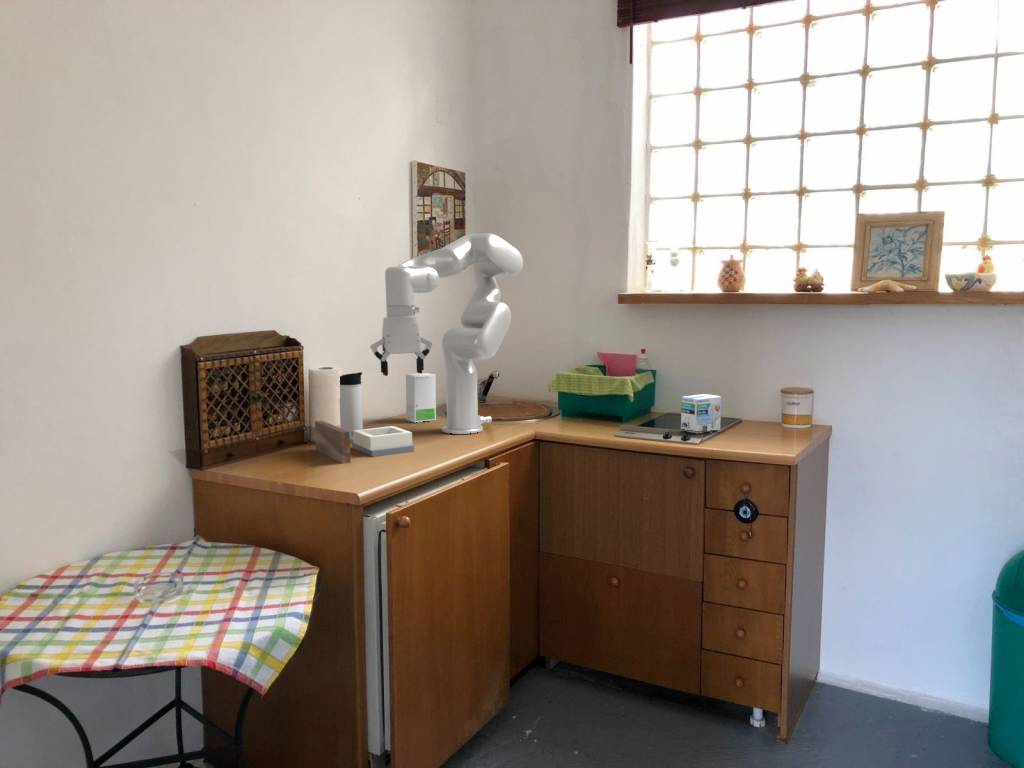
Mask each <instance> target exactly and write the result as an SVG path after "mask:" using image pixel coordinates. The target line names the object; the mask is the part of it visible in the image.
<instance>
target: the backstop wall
mask: <svg viewBox="0 0 1024 768" xmlns="http://www.w3.org/2000/svg"><path fill="white" fill-rule="evenodd" d="M314 436H315V451H316V452H319V453H321V454H323V455H325V456H327V457H329V458H331V459H333V460H335V461H337V462H339V463H341V464H349V463H351V443H350V434H349V431H346V430H344V429H341V428H340V427H339V426H337V425H334V424H331V423H329V422H326V421H324V420H316V421H314Z"/></svg>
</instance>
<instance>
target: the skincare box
mask: <svg viewBox="0 0 1024 768" xmlns="http://www.w3.org/2000/svg"><path fill="white" fill-rule="evenodd" d="M436 377H437V375H436V373H435V374H433V373H423V372H422V374H420V373H406V374H405V390H406V393H405V394H406V396H405V397H406V398H405V399H406V401H405V402H406V403H405V405H406V408H405V409H406V410H405V411H406V421H407V420H408V421H407V422H410V421H411V423H413V422H414V423H416V422H417V423H424V422H423V421H430V422H432V421H431V420H436V421H437V402H436V401H437V398H436V397H437V394H436V393H437V392H436V389H437V388H436V383H437V381H436V379H437V378H436ZM414 423H413V424H414ZM417 423H416V424H417Z"/></svg>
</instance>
